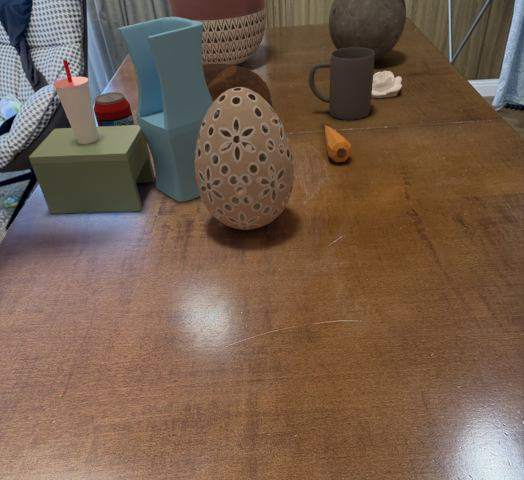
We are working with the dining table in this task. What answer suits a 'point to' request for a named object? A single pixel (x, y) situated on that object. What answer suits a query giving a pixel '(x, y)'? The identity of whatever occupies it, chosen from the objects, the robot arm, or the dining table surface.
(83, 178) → the sage green box
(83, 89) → the cup
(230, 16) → the planter
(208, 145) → the ornament
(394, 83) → the rose
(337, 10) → the decorative sphere
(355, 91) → the mug
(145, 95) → the vase
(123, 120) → the beverage can
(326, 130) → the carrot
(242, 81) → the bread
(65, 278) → the dining table surface
